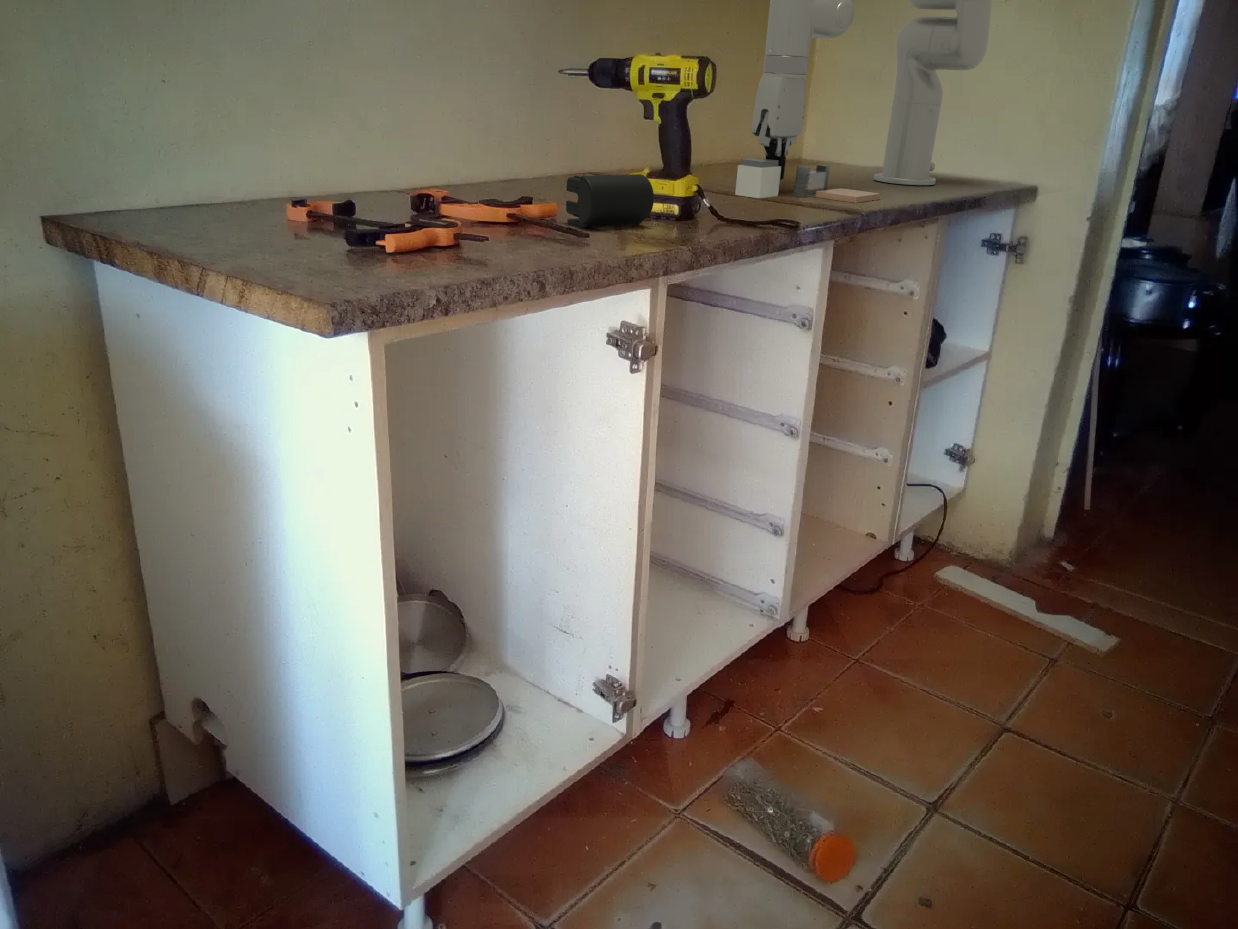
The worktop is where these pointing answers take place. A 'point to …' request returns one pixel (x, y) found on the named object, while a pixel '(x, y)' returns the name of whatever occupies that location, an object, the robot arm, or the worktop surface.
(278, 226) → the worktop surface
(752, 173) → the white box with lid
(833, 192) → the pad
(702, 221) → the worktop surface
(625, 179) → the end cap
